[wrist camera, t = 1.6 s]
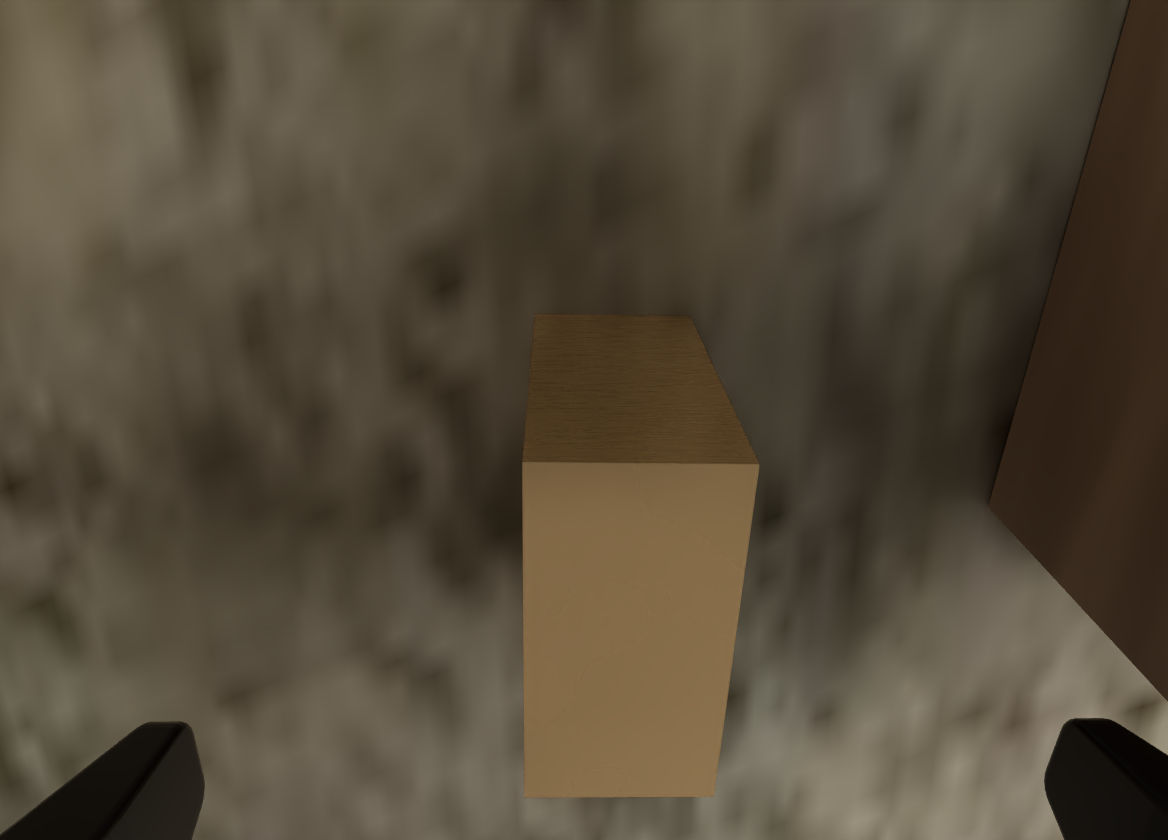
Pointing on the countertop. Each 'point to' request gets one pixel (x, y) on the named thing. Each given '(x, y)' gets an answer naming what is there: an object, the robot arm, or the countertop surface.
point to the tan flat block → (629, 557)
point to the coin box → (1106, 372)
